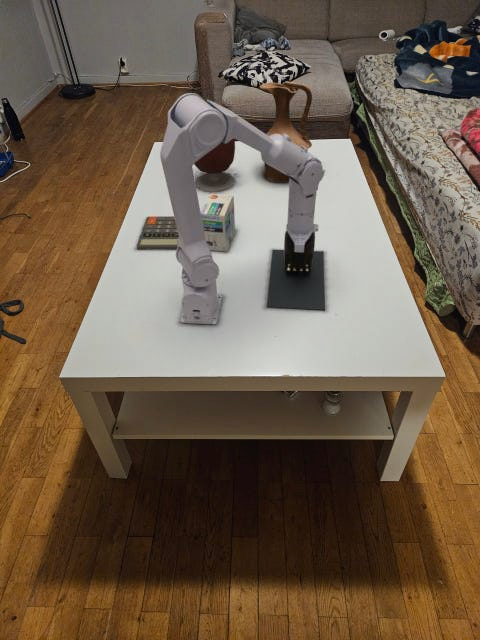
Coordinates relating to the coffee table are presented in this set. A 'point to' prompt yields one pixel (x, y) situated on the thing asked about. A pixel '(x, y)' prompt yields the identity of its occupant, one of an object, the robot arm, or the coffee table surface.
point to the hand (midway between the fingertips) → (297, 259)
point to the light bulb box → (218, 221)
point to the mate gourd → (216, 168)
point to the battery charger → (307, 263)
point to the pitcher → (286, 120)
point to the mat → (296, 285)
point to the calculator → (159, 233)
